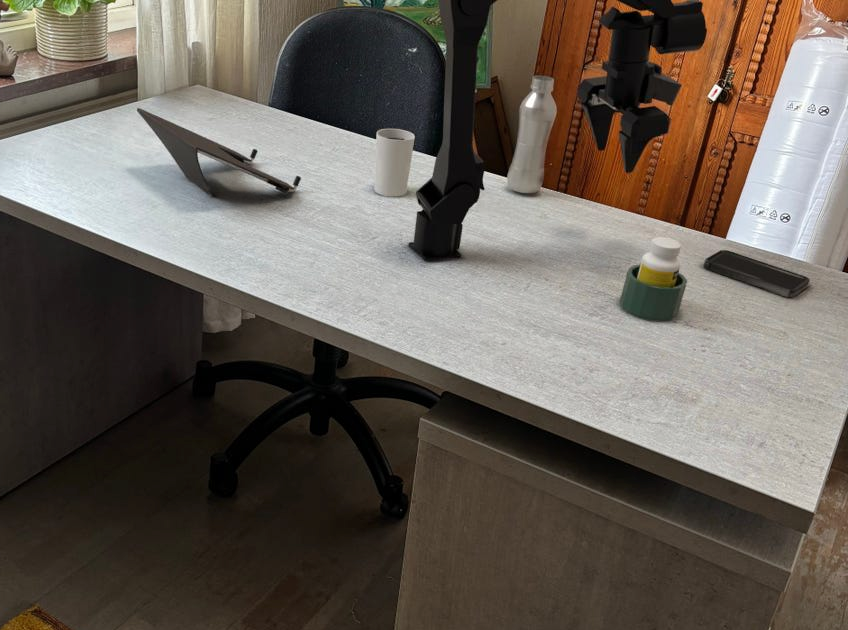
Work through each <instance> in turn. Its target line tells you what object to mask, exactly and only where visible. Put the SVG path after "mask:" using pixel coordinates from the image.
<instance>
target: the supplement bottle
mask: <svg viewBox="0 0 848 630" xmlns="http://www.w3.org/2000/svg"><path fill="white" fill-rule="evenodd" d="M681 248H682V244H681V243H680V242H679V241H677V240H675V239H673V238H669V237H663V236H662V237H661V236H659V237H655V238H653V239H652V240H651V244H650V248H649V250H650V251H649V252H646V253H645V254H644V255H643V256H642V258H641V262H640V264H639V265H640V269H639V273H638V276H637V279H638V280H639V281H641V282H644V283H646V284H649V285H654V286H658V287H674V286H675V283H676V279H677V276H678V273H680V270H681V269H680V268H681V261H680V259H679V258H678V256H679V254H680V251H681Z"/></svg>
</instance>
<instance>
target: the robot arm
mask: <svg viewBox="0 0 848 630" xmlns="http://www.w3.org/2000/svg"><path fill="white" fill-rule="evenodd" d="M497 1H498V0H437V2H438V11H439V18H440V22H441V23H440V24H441V26H442V30H443V35H444V39H445V68H444V69H445V70H444V72H445V73H444V97H443V98H444V99H443V104H444V105H443V124H442V126H443V127H442V143H441V146H440V148H439V150H438V153H437V156H436V158H435V161H434V166H433V170H432V176H431V178H429V179H428V180H427V181H426V182H425V183H424V184H423V185H422V186H421V187H419V188H418V189H417V190H416V191H415V196H416V200H417V205H418V206H420V207H421V208H422V209H421V210H419V211H416V218H415V227H414V235H413V241H410V242H408V244H407V246H408V247H409V248H410V249H411V250H412V251H413V252H415V253H416V254H417V255H418V256H419V257H420V258H422V260H424V261H425V262H431V261H432V262H433V261H441V260H451V259H458V258H459V259H460V258H462V257H463V256H462V255H463V254H462V253H461V251H459V250H460V248H461V241H462V236H463V235H462V234H463V227H464V225H463V222H464V220H465V218H466V216H467V214H468V213H469V210H470V209H471V208H472V207H473V206H474V205H475V204H477V203H478V201H479V199H480V196H481V191H485V189H486V188H485V186H484V175H485V171H486V162H485V161H484V160H483V159H482V158H481V157H480V156H479V154H477V153H476V151H475V150H474V149H473V147H474V146H473V144H474V143H473V142H474V125H475V106H476V91H477V90H476V87H477V70H478V69H477V68H478V53H479V52H478V50H479V45H480V42H481V40H482V38H483V35H484V33H485V30H486V29H487V26H488V21H489V16H490V12H491V7H492V5H493V4H495V3H496V2H497ZM616 1H617V2H619V3H621V4H623V5H625V6H628V7H630V8H631V9H633V10H629V11H620V9H618V8H616V7H615V6H611V7H610V9H609V10H608V11H607V12H606V13H604V14H603V15H601V17H600V18H598V23H599V24H600V25H601V26H603V27H604V28H606V29H607V30H608V31H611V37H610V45H609V53H608V59H607V60H604V61H602V64H601V70H603V71H604V72H606V75H604V76H595V77H589V78H583V80H582V81H581V82H580V83H579V84H578V86H577V93H576V94H577V95H576V98H577V99H578V100H579V101H580V106H581V107H582V109H583V112H584V114H585V118H586V120H587V122H588V125H589V128H590V131H591V134H592V137H593V140H594V143H595V146H596V150H597V151H599V152H601V151H605V150H606V147H607V144H608V139H609V134H610V131H611V127H612V123H613V122H612V121H613V118H614V115H615V113H616V112H617V111H618V112H619V113H620V114H622V115H621V117H620V123H619V125H620V129H621V130H619V131H618V138H619V144H620V150H621V151H620V152H621V159H622V164H623V170H624V172H625V173H626V174H631V173H633V172H634V170H635V168H636V166H637V165H638V162H639V160H640V158H641V157H642V154H643V153H644V151H645V149H646V147H647V146H648V144H649V143H650V141H652V140H653V139H654V138H659V137H661V136H663V135H666V134H668V133H669V132H670V127H671V121H672V119H671V117H670V116H669V115H668V113H666V112H665V111H663V110H662V109H660V108H659V107H657V106H656V105H652V106H645V107H641V106H640V105H641V104H644V105H649V104H652V103H653V100H655V101H658V102H662V103H665V104H666V105H668V106H673V105H674V103H675V101H676V99H677V97H678V94H679V92H680V90H681V88H682V86H683V85H682V83H680V82H678V81H677V80H676V79H673V78H672V77H670V76H668V75H666V74H664V73H663V67H662V66H661V65H660V64H658V63H656V62H652V61H650V55H651V54H650V53H651V48H653V49H654V50H655V51H656V53H657V54H658V55H670V54H679V53H687V52H697V51H699V50H701V49H702V47H703V46H704V44H705V41H706V38H707V34H708V28H707V24H706V18H705V14H704V12H703V5H704V3H703V2H702V1H701V0H684V1H681V2H673V1H672V0H616ZM645 11H647V12H650V13H652V14H646V15H645V14H644V15H642V13H641V12H645Z"/></svg>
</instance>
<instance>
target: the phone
mask: <svg viewBox="0 0 848 630" xmlns="http://www.w3.org/2000/svg"><path fill="white" fill-rule="evenodd" d="M703 263H704V264H703V268H704V269H707V270H709V271H712V272H714V273H718V274H720V275H723V276H725V277H729V278H731V279H734V280H736V281H737V280H738V281H740V282H743V283H745V284H748V285H751V286H754V287H756V288H759V289H762V290H765V291H769V292H771V293H774V294H777V295H779V296H783V297H786V298H794V297H796V296H797V295H799V294H800V293H801V292H803V291H804V290H805V289H807V288H808V286H809V283H810V280H811V279H810V278H809V277H807V276H805V275H801V274H799V273H796V272H794V271H790V270H787V269H784V268H781V267H779V266H777V265H776V266H775V265H774V264H769V263H767V262H764V261H761V260H758V259H754V258H752V257H748V256H746V255H743V254H739V253H737V252H734V251H731V250H727V249H720V250H718V251H717V252H715V253H713V254H712V255H709V256H708V257H706V258H705V260H704V262H703Z"/></svg>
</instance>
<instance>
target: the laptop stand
mask: <svg viewBox="0 0 848 630" xmlns="http://www.w3.org/2000/svg"><path fill="white" fill-rule="evenodd" d="M136 112H137V113H138V114H139V116H140V117H141V118H142V119H143V120H144V122H146V124H147V125H148V126H149V128H150V129H151V130H152V132H153V133H154V134H155V135H156V137H157V138H158V139H159V141H160V142H161V144H162V145H163V146H164V147H165V149H166V150H167V152H168V153H169V155H170V156H171V158H172V159H173V160H174V162H175V163H176V165H177V166H178V168H179V169H180V171H181V173H182V174H183V175H184V176H185V179H187V180H188V181H190V182H192V183H194V184H195V185H197V186H198V187H199V188H200V189H201V190H202V191H204V192H205V193H206V194H207V195H209V196H210V197H212V196H213V195H214V193H213V191H212V189H211V187H210V185H209V184H208V182H207V180H206V178H205V175H204V173H203V170H202V168H201V164H200V162H199V161H200V160H199V154H200V155H202V156H205V157H208V158H210V159H212V160H214V161H216V162H219V163H221V164H224V165H226V166H228V167H231V168H233V169H235V170H237V171H239V172H242V173H244V174H247V175H249V176H251V177H253V178H256V179H257V180H260V181H263V182H265V183H266V184H268V185H271V186H273V187H275V188H274V189H275V190H276V191H278V192H280V193H283V194H285V195H287V194H288V192H289V193H293V192H295V191H296V190H297V188H298V186H299V184H300V182H301V180H302V177H301V176H300V175H296V176H295V178H294V181H293V182H292V185H291V184H289V183H287V182H286V181H283V180H281V179H279V178H277V177H275V176H273V175H271V174H268V173H266V172H264V171H262V170H260V169H257V168H255V167H253V166H250V165H251V164H252V163H253V162H254V161H255V159H256V156H257V154H258V152H259V151H258V150H257V149H256V148H253V149H252V151H251V153H250V155H249V158H248V157H246V156H245V155H243V154H241V153H240V152H237V151H235V150H234V149H231V148H229V147H227V146H225V145H222V144H221V143H218V142H216V141H214V140H212V139H210V138H207V137H205V136H203V135H200V134H198V133H196V132H195V131H192V130H190V129H187V128H185V127H183V126H181V125H178V124H177V123H175V122H173V121H172V122H171V121H170V120H168V119H165V118H162V117H161V116H158V115H156V114H154V113H151V112H150V111H147V110H145V109H142V108H140V107H138V108H136Z"/></svg>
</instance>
